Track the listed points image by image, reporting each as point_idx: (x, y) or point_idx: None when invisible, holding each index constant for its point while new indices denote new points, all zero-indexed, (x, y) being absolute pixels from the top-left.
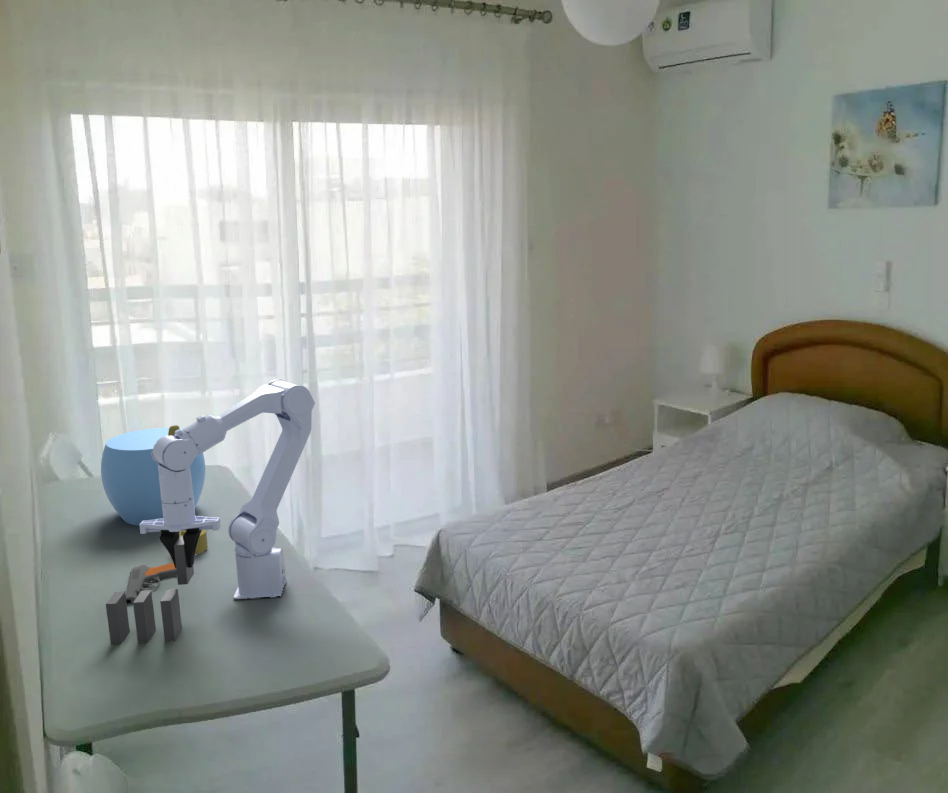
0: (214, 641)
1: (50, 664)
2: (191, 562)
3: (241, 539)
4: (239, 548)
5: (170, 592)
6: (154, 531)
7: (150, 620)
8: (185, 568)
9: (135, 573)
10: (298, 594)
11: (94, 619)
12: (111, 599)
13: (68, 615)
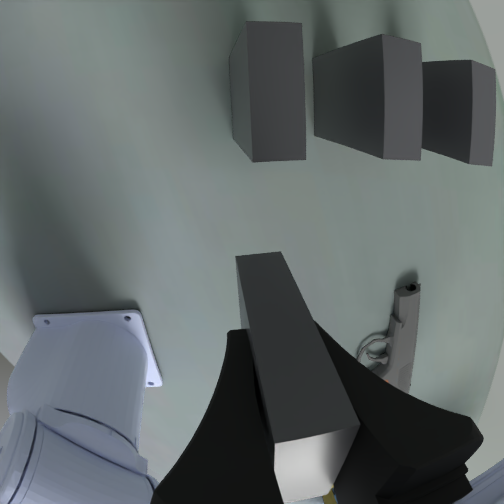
0: (100, 61)
1: (478, 23)
2: (226, 352)
3: (72, 473)
4: (110, 450)
5: (280, 119)
6: (494, 468)
7: (333, 98)
8: (248, 303)
9: (404, 381)
10: (11, 325)
11: (461, 211)
12: (490, 102)
13: (494, 232)
